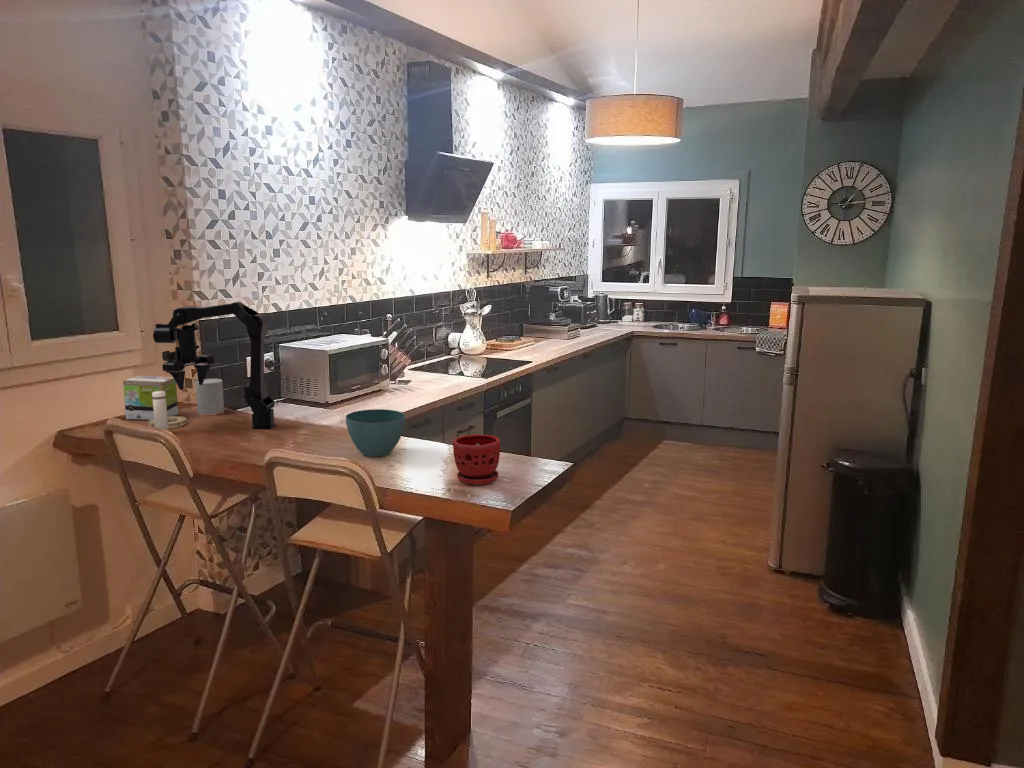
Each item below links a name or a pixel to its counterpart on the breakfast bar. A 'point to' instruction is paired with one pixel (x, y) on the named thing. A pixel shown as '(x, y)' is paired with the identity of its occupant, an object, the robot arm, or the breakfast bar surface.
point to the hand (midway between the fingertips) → (191, 387)
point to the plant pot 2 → (477, 458)
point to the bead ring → (172, 421)
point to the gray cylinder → (210, 396)
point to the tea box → (148, 396)
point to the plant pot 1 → (375, 430)
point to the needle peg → (160, 409)
